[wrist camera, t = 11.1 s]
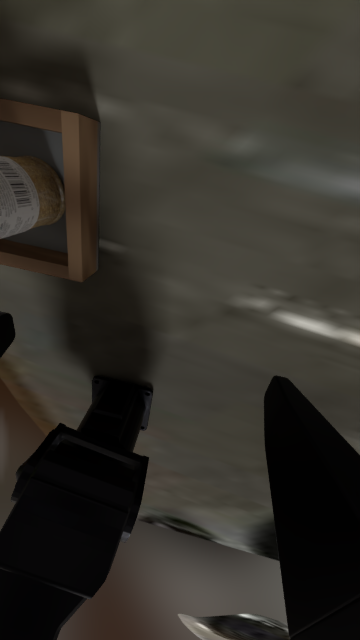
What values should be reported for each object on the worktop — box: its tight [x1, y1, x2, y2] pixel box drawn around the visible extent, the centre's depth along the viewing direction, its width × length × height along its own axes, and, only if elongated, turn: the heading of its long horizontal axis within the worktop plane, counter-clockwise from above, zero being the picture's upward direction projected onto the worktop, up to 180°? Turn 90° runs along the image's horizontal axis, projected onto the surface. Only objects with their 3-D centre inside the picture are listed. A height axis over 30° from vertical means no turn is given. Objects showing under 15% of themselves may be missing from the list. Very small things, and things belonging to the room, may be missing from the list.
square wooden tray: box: [0, 98, 100, 282], centre depth 18 cm, size 10×10×3 cm
